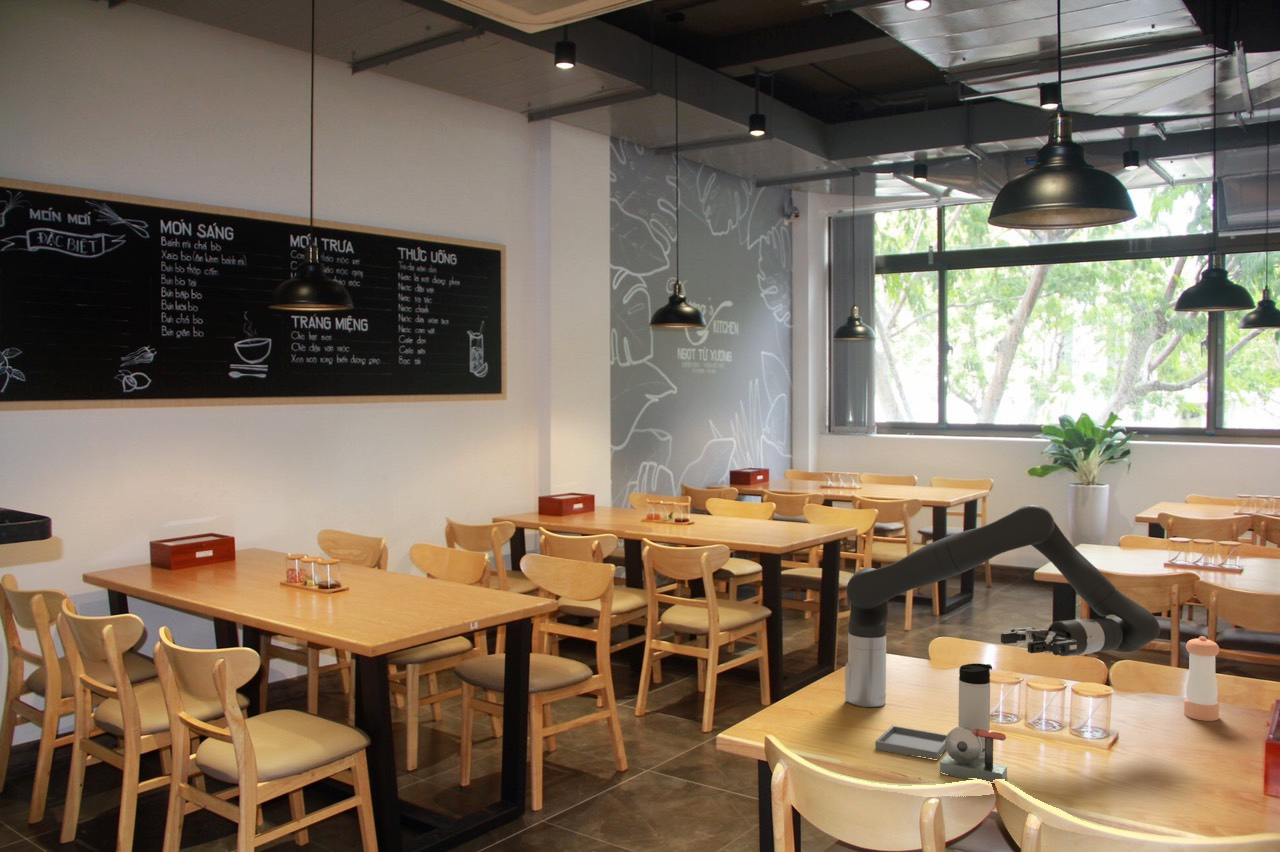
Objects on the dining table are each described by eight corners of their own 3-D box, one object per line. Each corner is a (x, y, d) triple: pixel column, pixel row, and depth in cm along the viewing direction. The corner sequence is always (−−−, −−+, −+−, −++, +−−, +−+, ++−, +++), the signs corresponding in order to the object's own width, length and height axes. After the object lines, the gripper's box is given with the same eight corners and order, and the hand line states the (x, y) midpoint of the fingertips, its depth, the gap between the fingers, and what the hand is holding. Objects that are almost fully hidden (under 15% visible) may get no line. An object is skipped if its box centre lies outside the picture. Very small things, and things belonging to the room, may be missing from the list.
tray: (875, 749, 216) (875, 741, 216) (892, 733, 226) (892, 725, 226) (936, 761, 209) (937, 752, 209) (951, 743, 219) (951, 735, 219)
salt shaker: (1186, 718, 236) (1187, 638, 236) (1182, 709, 243) (1183, 631, 243) (1221, 722, 234) (1222, 641, 233) (1216, 713, 240) (1217, 634, 240)
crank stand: (939, 773, 202) (940, 727, 201) (946, 766, 206) (946, 720, 206) (1002, 786, 195) (1003, 737, 195) (1008, 777, 200) (1008, 730, 199)
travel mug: (993, 765, 207) (994, 669, 206) (959, 762, 208) (960, 667, 207) (988, 754, 213) (989, 661, 212) (956, 752, 214) (957, 659, 213)
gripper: (1053, 613, 225) (993, 618, 219) (1101, 627, 211) (1038, 633, 206) (1052, 646, 225) (993, 652, 220) (1100, 662, 211) (1038, 669, 206)
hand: (1015, 643), depth 213 cm, fingers open, 8 cm apart
